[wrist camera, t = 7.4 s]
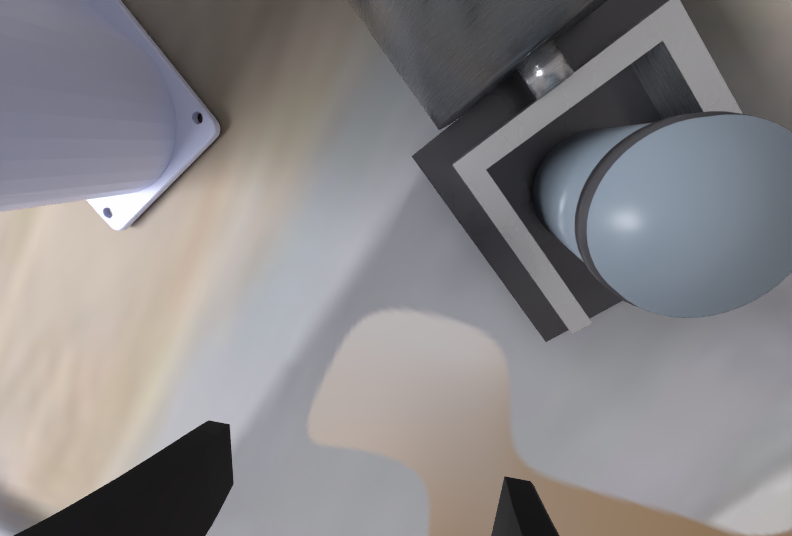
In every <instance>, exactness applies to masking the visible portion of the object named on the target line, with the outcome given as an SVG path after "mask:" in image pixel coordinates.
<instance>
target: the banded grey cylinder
mask: <svg viewBox="0 0 792 536" xmlns="http://www.w3.org/2000/svg"><path fill="white" fill-rule="evenodd" d="M532 198H533V205H534V209H535V212H536V214H537V217H538V219H539V220H540V222H541V223H542V225H543V226H544V227H545V228H546V229H547V230H548V231H549V232H550V233H551V234H552V235H554V236H555V237H556V238H557V239H558V240H559V241H560V242H561V243H563V244H564V245H565V246H566V247H567V248H568V249H569V250H570V251H572V252H573V253H574V254H575V255H576V256H577V257H578V258H580V259H581V260H582V261H583V262H584V263H585V265H586V266H587V268H588V270H589V271H590V272H591V273H592V274H593V276H594V277H595V278H596V279H597V280H598V281H599V282H600V283H601V284H603V285H604V286H605V287H606V288H607V289H608V290H609V291H610V292H612V293H613V294H614V295H616V296H617V297H619V298H620V299H622V300H623V301H625V302H628V303H630V304H632V305H634V306H637V307H640V308H642V309H644V310H646V311H649V312H653V313H656V314H659V315H664V316H670V317H681V318H693V317H704V316H711V315H716V314H720V313H724V312H728V311H730V310H733V309H736V308H739V307H741V306H743V305H746V304H748V303H750V302H752V301H754V300H756V299H757V298H759V297H761V296H762V295H764V294H766V293H767V292H769V291H770V290H771V289H773V288H774V287H775V286H777V285H778V284H779V283H781V282H782V281H783V280H784V279H785V278H786V277H787V276H788V275H789V274H790V273H791V272H792V132H791V131H789V130H788V129H786V128H785V127H783V126H781V125H778V124H776V123H774V122H772V121H769V120H766V119H762V118H759V117H754V116H748V115H744V114H741V113H734V112H727V111H708V112H699V113H691V114H684V115H677V116H673V117H669V118H665V119H662V120H659V121H656V122H653V123H646V124H638V125H629V126H620V127H611V128H603V129H594V130H588V131H583V132H580V133H577V134H575V135H572V136H571V137H569V138H567V139H565V140H564V141H562V142H561V143H559V144H558V145H557V146H556V147H554V148H553V149H552V150H551V151H550V152H549V154H548V155H547V156H546V157H545V159H544V160H543V161H542V163H541V165H540V167H539V168H538V171H537V173H536V176H535V179H534V183H533V190H532Z"/></svg>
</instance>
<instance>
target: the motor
mask: <svg viewBox="0 0 792 536" xmlns="http://www.w3.org/2000/svg"><path fill="white" fill-rule="evenodd" d="M348 1H349V2H350V4H351V5H352V7H353V8H354V9H355V11H356V12H357V14H358V15H359V17H360V18H361V19H362V21H363V22H364V24H365V25H366V26H367V28H368V29H369V31H370V32H371V34H372V35H373V36H374V38H375V39H376V41H377V42H378V44H379V45H380V46H381V48H382V49H383V51H384V52H385V54H386V55H387V56H388V58H389V59H390V61H391V62H392V64H393V65H394V66H395V68H396V69H397V71H398V72H399V74H400V75H401V76H402V78H403V79H404V81H405V82H406V84H407V85H408V86H409V88H410V89H411V91H412V92H413V94H414V95H415V96H416V98H417V99H418V101H419V102H420V103H421V105H422V106H423V108H424V109H425V111H426V112H427V113H428V115H429V116H430V118H431V119H432V121H433V122H434V123H435V125H436V126H437V128H438V129H442V128H444V127H446V126H447V125H449V124H451V123H452V122H454V121H455V120H457V119H458V118H459V119H458V120H457V121H456V122H454V123H453V124H452V125H450V126H449V127H448V128H447V129H445V130H444V131H443V132H442V133H440V134H439V135H438V136H437V137H435V138H434V139H433V140H432V141H430V142H429V143H428V144H427V145H425V146H424V147H423V148H422V149H420V150H419V151H418V152H417V153H415V154H414V155H413V156H412V157H413V159H414V160H415V162H416V163H417V164H418V166H419V167H420V168H421V170H422V171H423V173H424V174H425V175H426V177H427V178H428V180H429V181H430V182H431V184H432V185H433V186H434V188H435V189H436V191H437V192H438V193H439V195H440V196H441V198H442V199H443V200H444V202H445V203H446V204H447V206H448V207H449V209H450V210H451V211H452V213H453V214H454V215H455V217H456V218H457V220H458V221H459V222H460V224H461V225H462V227H463V228H464V229H465V231H466V232H467V233H468V235H469V236H470V238H471V239H472V240H473V242H474V243H475V245H476V246H477V247H478V249H479V250H480V251H481V253H482V254H483V256H484V257H485V258H486V260H487V261H488V263H489V264H490V265H491V267H492V268H493V269H494V271H495V272H496V274H497V275H498V276H499V278H500V279H501V280H502V282H503V283H504V285H505V286H506V287H507V289H508V290H509V292H510V293H511V294H512V296H513V297H514V298H515V300H516V301H517V303H518V304H519V305H520V307H521V308H522V310H523V311H524V312H525V314H526V315H527V316H528V318H529V319H530V321H531V322H532V323H533V325H534V326H535V328H536V329H537V330H538V332H539V333H540V334H541V336H542V337H543V339H544V340H545V341H546V342H547V341H549V340H550V339H552V338H554V337H556V336H558V335H560V334H562V333H563V332H565V331H567V330H569V331H570V332H571V333H572V334H573V333H575V332H577V331H579V330H581V329H583V328H585V327H586V326H588V325H590V324H592V322H591V321H590V319H589V318H591V317H593V316H595V315H597V314H598V313H600V312H602V311H604V310H606V309H608V308H610V307H611V306H613V305H615V304H617V303H619V302H621V301H622V299H620V298H619V297H617V296H616V295H614V294H613V293H612V292H610V291H609V290H608V289H607V288H606V287H605V286H604V285H603V284H601V283H600V282H599V281H598V280H597V279H596V278H595V277H594V276H593V274H592V273H591V272H590V271H589V270H588V268H587V266H586V265H585V263H584V262H583V261H582V260H581V259H580V258H578V257H577V256H576V255H575V254H574V253H573V252H572V251H570V250H569V249H568V248H567V247H566V246H565V245H564V244H563V243H561V242H560V241H559V240H558V239H557V238H556V237H555V236H554V235H552V234H551V233H550V232H549V231H548V230H547V229H546V228H545V227H544V226H543V225H542V223H541V222H540V220H539V219H538V217H537V214H536V212H535V209H534V205H533V198H532V190H533V183H534V179H535V176H536V173H537V171H538V168H539V167H540V165H541V163H542V161H543V160H544V159H545V157H546V156H547V155H548V154H549V152H550V151H551V150H552V149H553V148H554V147H556V146H557V145H558V144H559V143H561V142H562V141H564V140H565V139H567V138H569V137H571V136H572V135H575V134H577V133H580V132H583V131H588V130H594V129H603V128H611V127H620V126H629V125H638V124H646V123H653V122H656V121H659V120H662V119H665V118H669V117H673V116H677V115H684V114H691V113H699V112H708V111H727V112H734V113H741V114H743V113H742V111H741V110H740V108H739V106H738V104H737V102H736V100H735V99H734V97H733V95H732V93H731V91H730V90H729V88H728V86H727V84H726V82H725V81H724V79H723V77H722V75H721V73H720V72H719V70H718V68H717V66H716V64H715V63H714V61H713V59H712V57H711V55H710V54H709V52H708V50H707V48H706V46H705V45H704V43H703V41H702V39H701V37H700V36H699V34H698V32H697V30H696V28H695V27H694V25H693V23H692V21H691V19H690V18H689V16H688V14H687V12H686V10H685V8H684V7H683V5H682V3H681V1H680V0H607V1H606V2H605V3H603V2H604V1H605V0H348ZM602 3H603V4H602ZM600 4H602V5H601V6H600V7H598V6H599V5H600ZM597 7H598V8H597ZM596 8H597V9H596ZM595 9H596V10H595ZM593 10H595V11H593ZM592 11H593V12H592ZM591 12H592V13H591ZM590 13H591V14H590ZM589 14H590V15H589ZM586 16H587V17H586ZM585 17H586V18H585ZM584 18H585V19H584ZM579 22H580V23H579ZM465 113H466V114H465ZM462 115H463V116H462ZM461 116H462V117H461ZM460 117H461V118H460Z"/></svg>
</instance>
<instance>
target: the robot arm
mask: <svg viewBox="0 0 792 536" xmlns="http://www.w3.org/2000/svg"><path fill="white" fill-rule="evenodd" d="M199 113H201V114H202V116H203V121H202V123H201V124H200V123H199V121H198V114H199ZM219 134H220V125H219V123H218V121H217V120H216V118H215V117H214V116H213V115H212V113H211V112H210V111H209V110H208V108H207V107H206V106H205V105H204V103H203V102H202V101H201V100H200V98H199V97H198V96H197V95H196V93H195V92H194V91H193V90H192V89H191V87H190V86H189V85H188V84H187V82H186V81H185V80H184V79H183V77H182V76H181V75H180V74H179V72H178V71H177V70H176V69H175V67H174V66H173V65H172V64H171V62H170V61H169V60H168V59H167V57H166V56H165V55H164V54H163V52H162V51H161V50H160V49H159V47H158V46H157V45H156V44H155V42H154V41H153V40H152V39H151V37H150V36H149V35H148V34H147V32H146V31H145V30H144V29H143V27H142V26H141V25H140V24H139V22H138V21H137V20H136V19H135V17H134V16H133V15H132V14H131V12H130V11H129V10H128V9H127V7H126V6H125V5H124V4H123V2H122V1H121V0H0V212H4V211H11V210H18V209H25V208H32V207H39V206H46V205H53V204H60V203H67V202H74V201H81V200H87V201H88V202H89V203H90V204H91V206H92V207H93V208H94V209H95V210H96V211H97V212H98V213H99V215H100V216H101V217H102V218H103V219H104V220H105V221H106V222H107V223H108V225H109V226H110V227H111V228H113V229H114V230H117V231H120V230H124V229H127V228H128V227H129V226H130V225H131V224H132V223H133V222H134V221H135V220H136V219H137V218H138V217H139V216H140V215H141V214H142V213H143V212H144V211H145V210H146V209H147V208H148V207H149V206H150V205H151V204H152V203H153V202H154V201H155V200H156V199H157V198H158V197H159V196H160V195H161V194H162V193H163V192H164V191H165V190H166V189H167V188H168V187H169V186H170V185H171V184H172V183H173V182H174V181H175V180H176V179H177V178H178V177H179V176H180V175H181V174H182V173H183V172H184V171H185V170H186V169H187V168H188V167H189V166H190V165H191V164H192V163H193V162H194V161H195V160H196V159H197V158H198V157H199V156H200V155H201V154H202V152H203V151H204V150H205V149H206V148H207V147H208V146H209V145H210V144H211V143H212V142H213V141H214V140H215V139H216V138H217V137H218V136H219ZM110 209H111V210H112V212H113V215H112V214H111V213H110ZM232 486H233V469H232V454H231V439H230V424H224V423H219V422H214V421H207V422H205V423H204V424H202V425H200V426H199V427H197V428H195V429H194V430H192V431H191V432H189V433H188V434H186V435H184V436H183V437H181V438H180V439H178V440H177V441H175V442H174V443H172V444H170V445H169V446H167V447H166V448H164V449H163V450H161V451H160V452H158V453H156V454H155V455H153V456H152V457H150V458H148V459H147V460H145V461H144V462H142V463H140V464H139V465H137V466H136V467H134V468H133V469H131V470H129V471H128V472H126V473H125V474H123V475H121V476H120V477H118V478H116V479H115V480H113V481H111V482H110V483H108V484H106V485H104V486H103V487H101V488H99V489H98V490H96V491H94V492H92V493H91V494H89V495H87V496H86V497H84V498H82V499H80V500H79V501H77V502H75V503H74V504H72V505H70V506H69V507H67V508H65V509H63V510H61V511H60V512H58V513H56V514H54V515H52V516H51V517H49V518H47V519H45V520H43V521H41V522H39V523H37V524H36V525H34V526H32V527H30V528H28V529H26V530H24V531H22V532H20V533H18V534H16V535H14V536H205V535H206V534H207V532H208V530H209V529H210V527H211V526H212V524H213V522H214V520H215V518H216V517H217V515H218V513H219V511H220V509H221V507H222V505H223V503H224V501H225V499H226V497H227V495H228V494H229V492H230V490H231V488H232ZM491 536H559V534H558V532H557V530H556V529H555V527H554V525H553V523H552V521H551V519H550V517H549V515H548V513H547V511H546V509H545V507H544V505H543V504H542V501H541V499H540V497H539V495H538V494H537V491H536V489H535V487H534V486H533V484H532V483H531V482H530V481H526V480H521V479H515V478H510V477H504V482H503V486H502V491H501V495H500V500H499V504H498V509H497V513H496V517H495V522H494V526H493V531H492V535H491Z"/></svg>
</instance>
